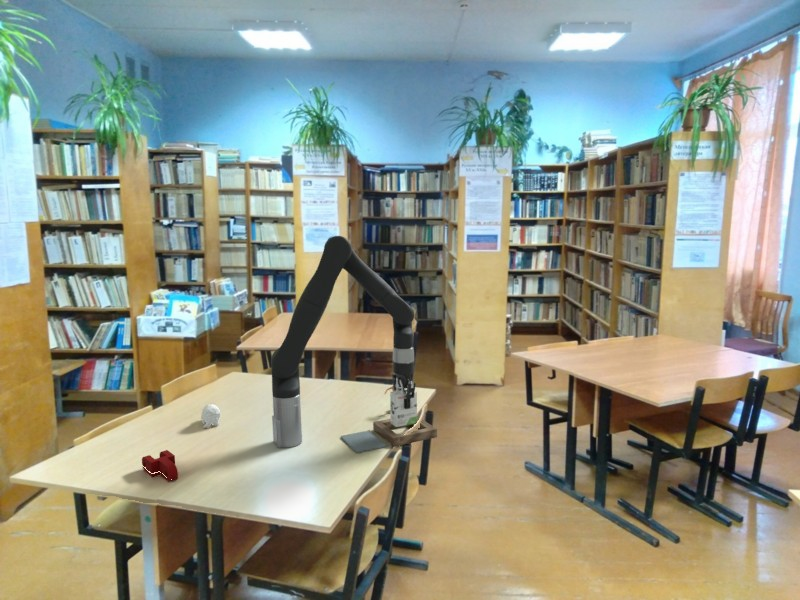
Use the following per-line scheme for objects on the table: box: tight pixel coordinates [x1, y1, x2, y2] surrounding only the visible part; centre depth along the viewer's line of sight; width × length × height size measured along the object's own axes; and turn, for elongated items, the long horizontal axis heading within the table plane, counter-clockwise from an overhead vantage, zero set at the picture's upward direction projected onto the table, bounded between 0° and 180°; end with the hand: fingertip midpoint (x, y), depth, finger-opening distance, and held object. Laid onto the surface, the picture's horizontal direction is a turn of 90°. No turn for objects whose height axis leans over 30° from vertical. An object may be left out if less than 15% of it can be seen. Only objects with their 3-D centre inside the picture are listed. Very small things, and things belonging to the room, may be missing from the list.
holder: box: [372, 415, 438, 447], centre depth 194 cm, size 17×17×3 cm
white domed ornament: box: [200, 403, 221, 429], centre depth 206 cm, size 6×8×12 cm
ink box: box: [389, 388, 418, 428], centre depth 193 cm, size 9×5×12 cm, turn 115°
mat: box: [340, 429, 388, 454], centre depth 187 cm, size 11×15×1 cm
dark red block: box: [141, 449, 179, 483], centre depth 165 cm, size 16×7×5 cm, turn 44°
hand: (403, 405), depth 193 cm, fingers closed on ink box, 5 cm apart
